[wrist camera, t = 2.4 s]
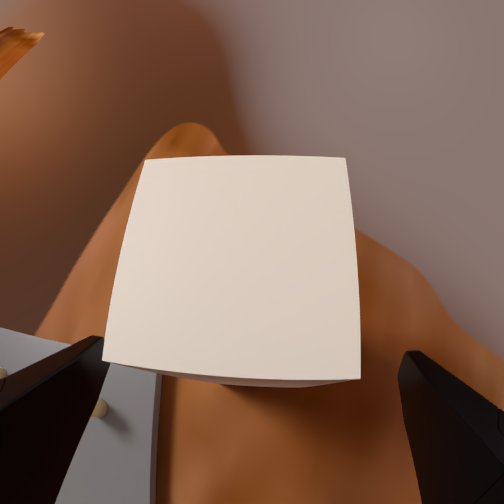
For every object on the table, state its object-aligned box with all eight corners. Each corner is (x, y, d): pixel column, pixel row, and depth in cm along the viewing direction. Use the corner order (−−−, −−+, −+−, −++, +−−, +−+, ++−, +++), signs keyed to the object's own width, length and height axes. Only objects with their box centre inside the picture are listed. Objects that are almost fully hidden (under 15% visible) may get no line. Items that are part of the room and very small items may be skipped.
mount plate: (157, 579, 11) (141, 599, 8) (-13, 499, 12) (-37, 502, 10) (163, 360, 18) (144, 354, 15) (-9, 325, 19) (-34, 315, 16)
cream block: (301, 387, 17) (360, 378, 5) (219, 383, 17) (101, 360, 5) (303, 309, 18) (345, 158, 7) (225, 307, 19) (145, 159, 7)
